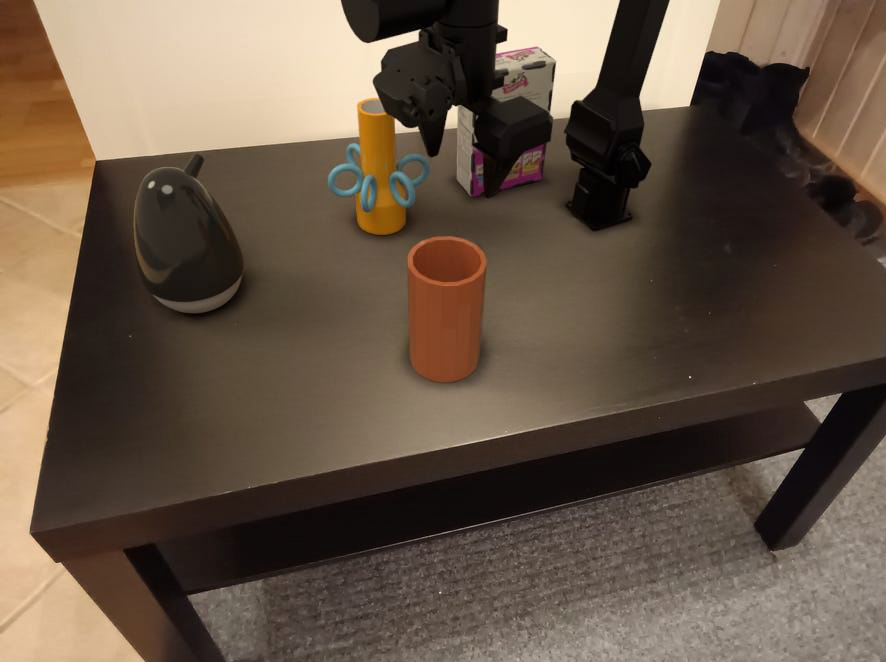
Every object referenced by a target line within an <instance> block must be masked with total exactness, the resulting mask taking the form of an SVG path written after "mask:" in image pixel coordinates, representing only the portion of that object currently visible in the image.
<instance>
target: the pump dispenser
mask: <svg viewBox="0 0 886 662" xmlns="http://www.w3.org/2000/svg"><path fill="white" fill-rule="evenodd" d="M204 162H205V158H204V156H203V155H202V154H201V153H193V155H192V156H191V158H190V159H189V160H188V162H187V163H186V165H185V166H184V168H183V169H181V168H179V167H176V166H175V167H173V166H163V167H158V168H155V169H153V170H151V171H150V172H148V173H147V174H146V175H145V176H144V178H143V179H142V180H141V182H140V184H139V187H138V189H137V192H136V195H135V200H134V206H133V218H132V219H133V221H132V231H133V232H132V234H133V235H132V236H133V248H134V256H135V262H136V266H137V271H138V275H139V278H140V280H141V284H142V285H143V287H144V288H145V289H146V290H147V292H149V293H150V294H151V295H153V297H154V298H155V299H156V300H158V301H159V302H160V303H161V304H162V305H163V306H165V307H167V308H169V309H171V310H172V311H177V312H180V313H185V314H202V313H207V312H210V311H214V310H217V309H218V308H221V307H222V306H224V305H225V304H226V303H228V302H229V301H230V300H231V299H232V298H233V296H235V294H236V293H237V291H238V289H239V287H240V284H241V281H242V276H243V273H244V270H245V259H244V255H243V251H242V249H241V246H240V242H239V241H238V238H237V236H236V234H235V231H234V230H233V227H232V225H231V224H230V221H229V220H228V218H227V217H226V215H225V213H224V212H223V210H222V208H221V207H220V205H219V204H218V202H217V201H216V199H215V198H214V197H213V195H212V194H211V193H210V192H209V190H208V189H207V188H206V187H205V186H204V185H203V184H202V182H200V181H199V180H198V179H197V178H198V176H199V174H200V171H201V169H202V167H203V164H204Z"/></svg>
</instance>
